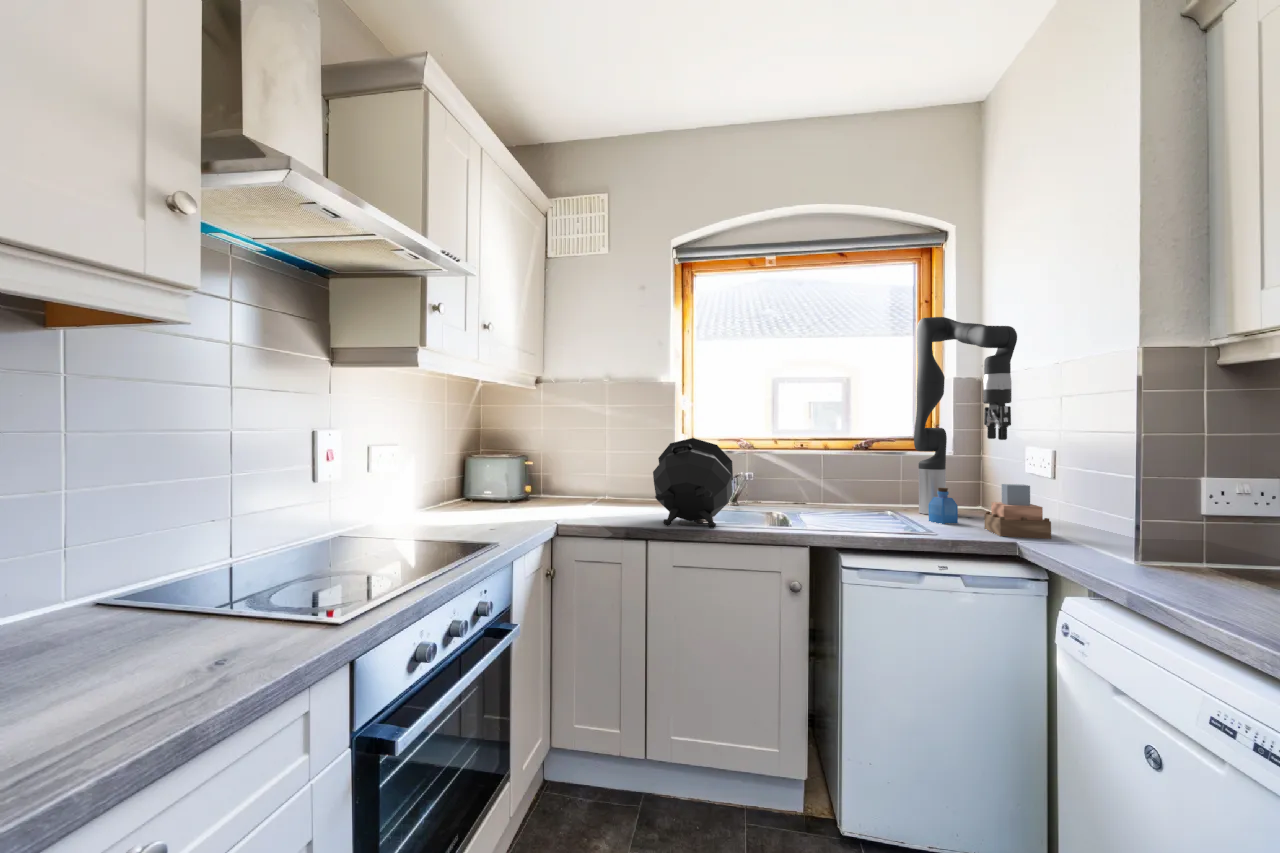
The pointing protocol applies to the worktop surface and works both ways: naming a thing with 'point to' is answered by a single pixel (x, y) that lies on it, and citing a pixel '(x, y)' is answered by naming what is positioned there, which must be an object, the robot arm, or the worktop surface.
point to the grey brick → (1016, 494)
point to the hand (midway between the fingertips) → (997, 439)
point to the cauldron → (693, 480)
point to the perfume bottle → (943, 508)
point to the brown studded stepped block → (1017, 521)
